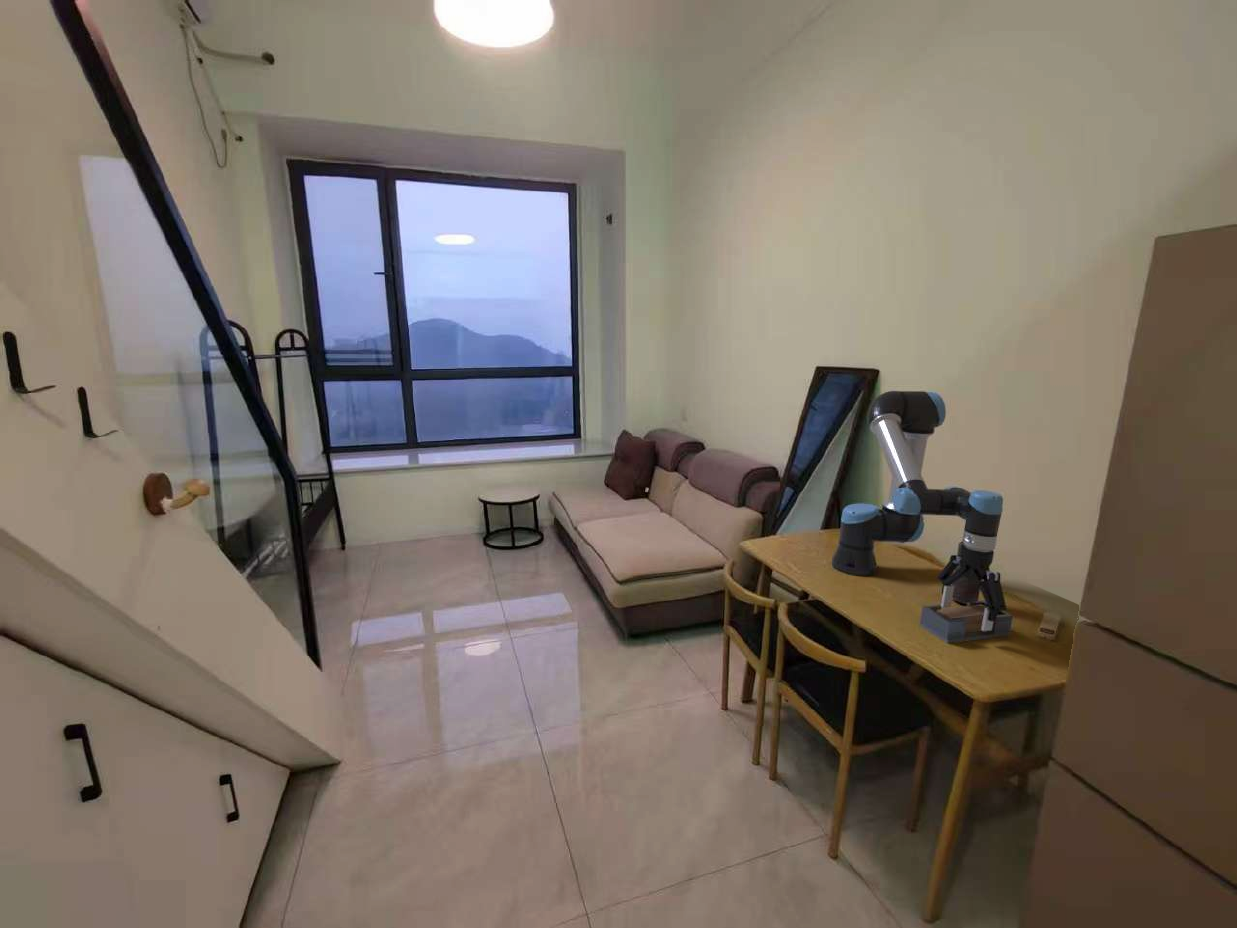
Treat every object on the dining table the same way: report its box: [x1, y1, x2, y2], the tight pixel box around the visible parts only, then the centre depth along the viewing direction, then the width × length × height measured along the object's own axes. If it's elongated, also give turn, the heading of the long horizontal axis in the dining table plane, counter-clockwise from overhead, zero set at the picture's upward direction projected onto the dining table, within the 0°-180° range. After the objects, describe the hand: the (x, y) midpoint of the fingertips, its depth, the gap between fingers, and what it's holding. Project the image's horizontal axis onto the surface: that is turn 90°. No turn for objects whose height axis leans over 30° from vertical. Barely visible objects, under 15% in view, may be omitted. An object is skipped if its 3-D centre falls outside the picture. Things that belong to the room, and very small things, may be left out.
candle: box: [951, 541, 981, 605], centre depth 166 cm, size 8×7×20 cm
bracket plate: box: [918, 599, 1014, 644], centre depth 150 cm, size 10×21×6 cm, turn 103°
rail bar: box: [936, 604, 988, 633], centre depth 150 cm, size 5×16×5 cm, turn 105°
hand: (965, 617), depth 150 cm, fingers open, 13 cm apart
